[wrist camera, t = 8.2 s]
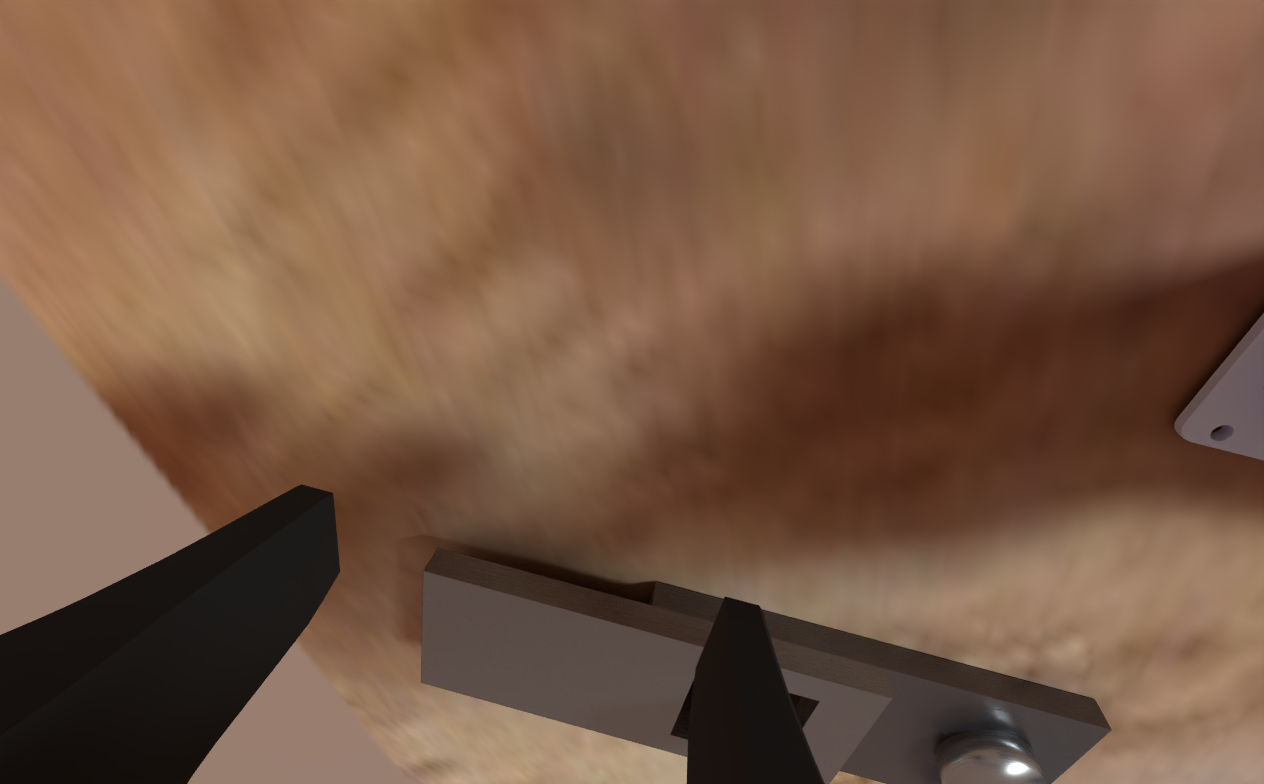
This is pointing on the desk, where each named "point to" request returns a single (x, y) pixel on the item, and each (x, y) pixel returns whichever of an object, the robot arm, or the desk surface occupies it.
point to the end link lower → (939, 710)
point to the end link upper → (612, 660)
